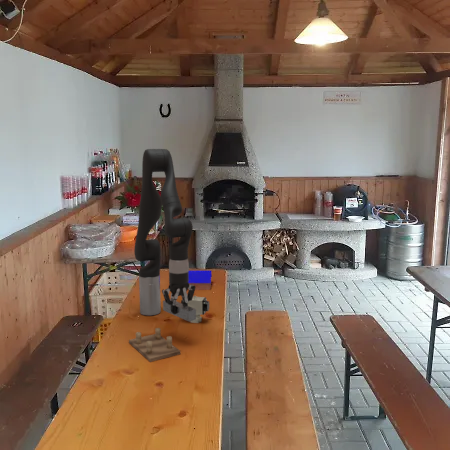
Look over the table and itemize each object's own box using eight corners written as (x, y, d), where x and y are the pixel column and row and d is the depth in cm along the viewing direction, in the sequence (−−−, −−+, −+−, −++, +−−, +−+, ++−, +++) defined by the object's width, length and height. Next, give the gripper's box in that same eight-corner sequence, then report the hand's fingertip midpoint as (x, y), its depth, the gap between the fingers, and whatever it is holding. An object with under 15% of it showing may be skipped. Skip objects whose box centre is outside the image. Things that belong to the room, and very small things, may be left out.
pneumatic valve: (207, 325, 202) (206, 298, 200) (180, 323, 204) (180, 296, 203) (210, 321, 207) (210, 294, 206) (184, 319, 210) (183, 292, 208)
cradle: (128, 342, 184) (128, 330, 184) (157, 336, 191) (157, 323, 190) (150, 361, 168) (149, 347, 167) (180, 354, 174) (180, 340, 173)
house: (174, 288, 256) (174, 267, 255) (211, 288, 256) (211, 267, 254) (171, 295, 245) (171, 273, 243) (210, 295, 244) (210, 273, 242)
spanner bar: (163, 310, 191) (163, 300, 190) (170, 308, 193) (170, 298, 192) (188, 321, 179) (188, 311, 179) (195, 319, 182) (195, 309, 181)
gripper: (190, 265, 190) (190, 306, 193) (157, 270, 182) (158, 313, 185) (199, 269, 183) (199, 312, 187) (166, 275, 176) (166, 319, 179)
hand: (179, 312), depth 186 cm, fingers closed on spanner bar, 4 cm apart
